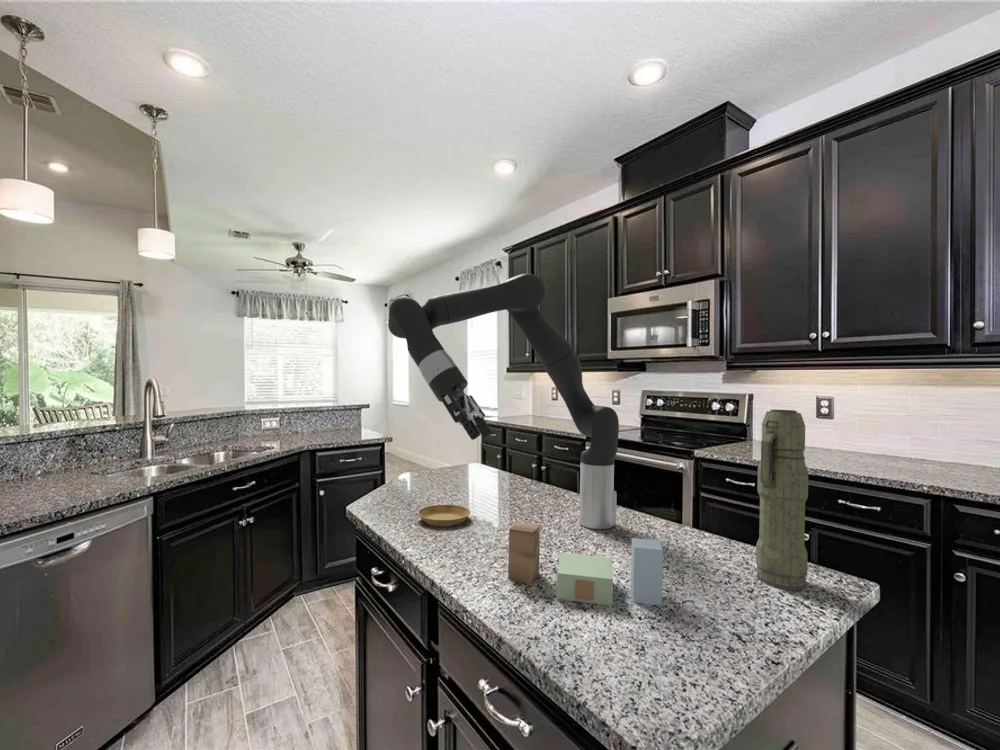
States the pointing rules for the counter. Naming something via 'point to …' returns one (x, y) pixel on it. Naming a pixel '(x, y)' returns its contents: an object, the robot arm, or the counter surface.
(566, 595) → the base block
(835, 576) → the counter surface
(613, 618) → the counter surface
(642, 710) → the counter surface
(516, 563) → the walnut block
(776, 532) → the thermos
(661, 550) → the slate block
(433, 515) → the plant saucer
